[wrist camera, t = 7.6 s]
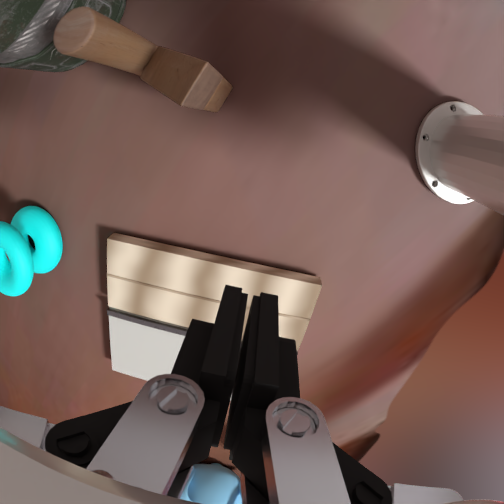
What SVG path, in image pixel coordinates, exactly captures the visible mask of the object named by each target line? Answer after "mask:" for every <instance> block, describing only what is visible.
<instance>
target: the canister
mask: <svg viewBox="0 0 504 504" xmlns="http://www.w3.org/2000/svg"><path fill="white" fill-rule="evenodd" d="M125 5H126V0H0V67H5V68H17V69H28V70H37V71H48V72H64V71H68V70H71V69H74V68H76V67H78V66H80V65H82V64H84V63H85V62H86V61H88V60H84V59H80V58H76V57H72V56H68V55H64V54H61V53H60V52H58V51H57V49H56V47H55V46H54V42H53V35H54V30H55V28H56V25H57V23H58V22H59V21H60V19H61V18H62V17H63V16H64V15H65V14H66V13H67V12H69V11H70V10H72V9H74V8H78V7H89V8H91V9H93V10H95V11H97V12H99V13H101V14H103V15H105V16H106V17H108V18H110V19H112V20H114V21H116V22H117V23H119V22H120V20H121V17H122V16H123V13H124V10H125Z"/></svg>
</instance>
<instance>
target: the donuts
mask: <svg viewBox="0 0 504 504" xmlns="http://www.w3.org/2000/svg"><path fill="white" fill-rule="evenodd" d="M28 235H29V236H31V238H32V239H33V241H34V243H35V249H33V247H32V246H31V244H30V242H29V239H28ZM62 249H63V243H62V236H61V233H60V230H59V227H58V225H57V223H56V222H55V220H54V219H53V217H52V216H51V215H50V214H49V213H48V212H47V211H45V210H44V209H42V208H40V207H37V206H26V207H24V208H22V209H20V210H19V211H18V212H17V213H16V214H15V215H14V217H13V219H12V221H11V224H9V223H7V222H3V221H0V292H1V293H3V294H5V295H8V296H18V295H21V294H23V293H24V292H25V291H27V289H28V288H29V287H30V285H31V282H32V279H33V274H34V272H35V273H47V272H49V271H51V270H53V269H54V268H55V267H56V266H57V264H58V263H59V261H60V258H61V255H62ZM5 252H6V254H7V255H8V257H9V260H10V262H9V261H8V259H7V257H6V254H5Z"/></svg>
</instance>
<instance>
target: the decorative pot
mask: <svg viewBox="0 0 504 504" xmlns="http://www.w3.org/2000/svg"><path fill="white" fill-rule="evenodd" d="M180 499H182V500H187V501H191V502H196V503H201V504H242V495H241V483H240V478H239V477H238V476H237V475H236V474H235V473H234V472H233V471H231V470H230V469H228V468H226V467H224V466H222V465H221V464H218V463H212V464H195V465H193V470H192V472H191V474H190V477H189V479H188V481H187V484H186V486H185V488H184V491H183V493H182V495H181V497H180Z"/></svg>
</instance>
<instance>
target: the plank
mask: <svg viewBox="0 0 504 504" xmlns="http://www.w3.org/2000/svg"><path fill="white" fill-rule="evenodd" d="M225 285H230V286H235V287H239V288H242V293H246V294H248V299H247V305H246V312H245V319H244V326H243V333H242V339H243V335H244V331H245V327H246V323H247V319H248V315H249V311H250V306H251V302H252V298H253V295H255V296H260V293H261V292H263V293H268V294H273V295H278V310H279V337H283V338H288V339H294V340H295V341H296V350H299V347H300V344H301V342H302V339H303V337H304V334H305V331H306V329H307V326H308V323H309V321H310V318H311V315H312V312H313V310H314V307H315V304H316V301H317V298H318V295H319V293H320V290H321V287H322V283H321V279H320V277H316V276H311V275H307V274H302V273H297V272H292V271H288V270H283V269H278V268H274V267H269V266H264V265H259V264H255V263H250V262H245V261H241V260H236V259H231V258H227V257H222V256H218V255H213V254H208V253H204V252H199V251H195V250H190V249H185V248H181V247H176V246H172V245H167V244H163V243H158V242H154V241H149V240H145V239H140V238H136V237H131V236H127V235H122V234H118V233H113V234H112V235H111V236H110V237H108V238H107V289H108V306H109V307H113V308H116V309H120V310H123V311H127V312H130V313H134V314H137V315H141V316H145V317H149V318H152V319H156V320H160V321H164V322H168V323H172V324H176V325H180V326H184V327H188V328H189V325H190V322H191V320H192V319H196V320H201V321H205V322H209V323H215V319H216V316H217V312H218V309H219V305H220V302H221V298H222V295H223V291H224V288H225Z"/></svg>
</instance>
